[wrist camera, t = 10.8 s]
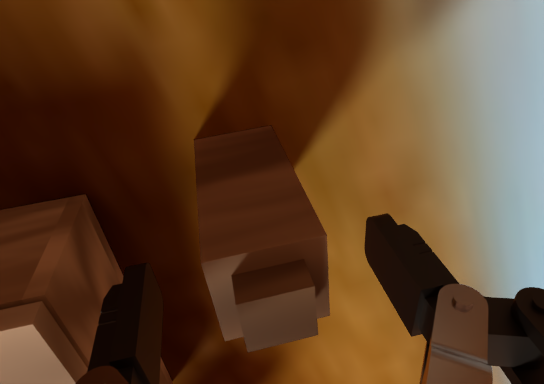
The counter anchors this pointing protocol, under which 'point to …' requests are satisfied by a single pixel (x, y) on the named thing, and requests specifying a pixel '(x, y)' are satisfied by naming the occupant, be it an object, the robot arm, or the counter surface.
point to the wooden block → (259, 240)
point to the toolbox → (59, 266)
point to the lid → (36, 348)
